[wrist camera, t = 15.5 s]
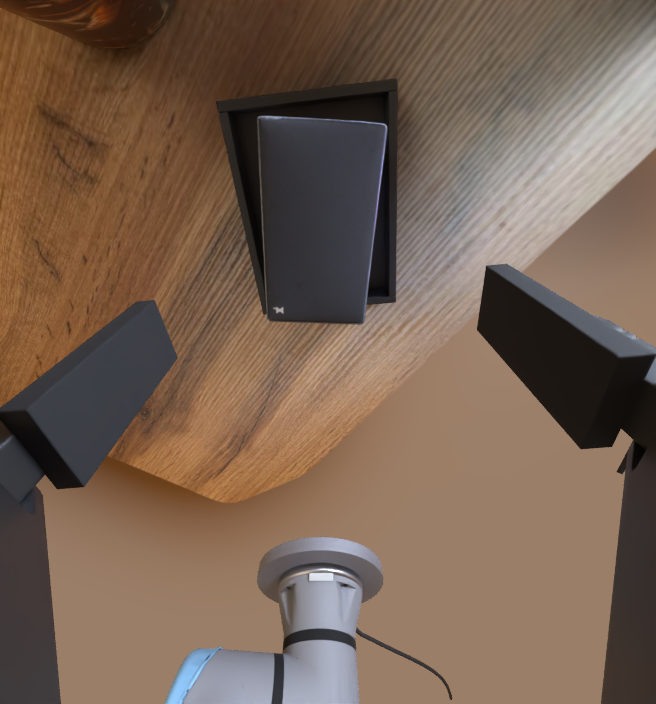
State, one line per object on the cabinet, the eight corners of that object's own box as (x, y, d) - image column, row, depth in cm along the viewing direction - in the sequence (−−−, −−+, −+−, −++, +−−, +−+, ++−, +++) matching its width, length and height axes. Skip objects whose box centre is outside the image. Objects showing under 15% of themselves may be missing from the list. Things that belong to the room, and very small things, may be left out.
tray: (391, 291, 31) (395, 302, 29) (267, 303, 31) (263, 314, 29) (391, 84, 23) (398, 77, 21) (225, 105, 23) (215, 101, 21)
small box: (355, 274, 29) (368, 329, 20) (282, 271, 29) (262, 325, 20) (368, 131, 24) (394, 122, 15) (278, 126, 23) (249, 113, 15)
